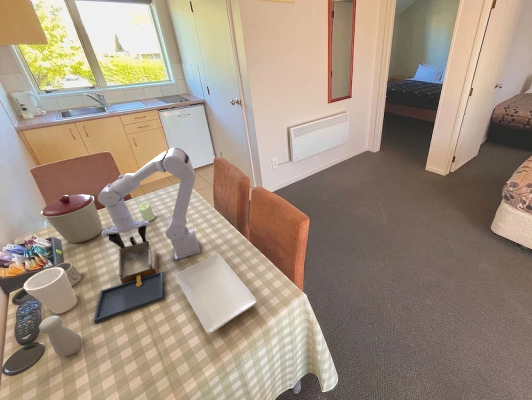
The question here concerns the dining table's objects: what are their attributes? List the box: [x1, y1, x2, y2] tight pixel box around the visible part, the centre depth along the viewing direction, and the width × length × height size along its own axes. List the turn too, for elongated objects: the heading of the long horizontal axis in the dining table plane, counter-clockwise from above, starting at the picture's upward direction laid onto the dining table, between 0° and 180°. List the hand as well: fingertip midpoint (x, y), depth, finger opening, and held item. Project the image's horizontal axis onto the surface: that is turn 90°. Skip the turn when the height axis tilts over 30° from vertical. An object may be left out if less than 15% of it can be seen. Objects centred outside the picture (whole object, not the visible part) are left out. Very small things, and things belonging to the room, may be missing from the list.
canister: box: [39, 194, 103, 244], centre depth 117 cm, size 18×18×21 cm
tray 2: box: [174, 252, 258, 335], centre depth 92 cm, size 17×32×4 cm, turn 42°
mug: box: [54, 261, 82, 287], centre depth 96 cm, size 10×7×7 cm, turn 134°
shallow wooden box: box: [119, 249, 158, 284], centre depth 102 cm, size 11×12×3 cm
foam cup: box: [23, 266, 78, 315], centre depth 86 cm, size 10×9×13 cm
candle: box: [138, 201, 156, 222], centre depth 131 cm, size 5×5×8 cm
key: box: [136, 275, 142, 287], centre depth 96 cm, size 4×2×1 cm, turn 28°
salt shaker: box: [38, 315, 83, 357], centre depth 73 cm, size 6×6×13 cm
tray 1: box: [93, 271, 165, 324], centre depth 92 cm, size 19×13×1 cm
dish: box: [118, 236, 153, 279], centre depth 99 cm, size 10×14×5 cm
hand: (134, 245), depth 104 cm, fingers closed on dish, 7 cm apart
